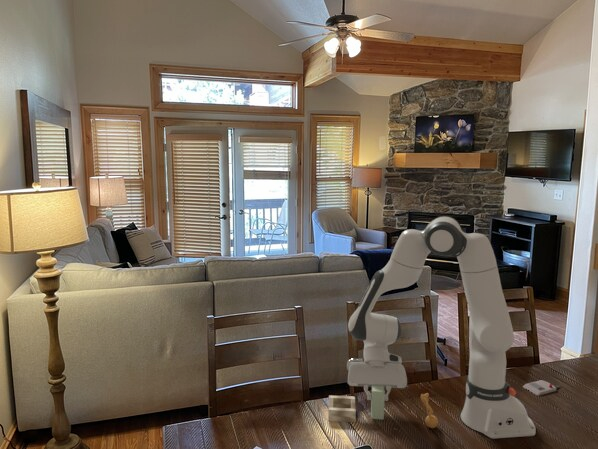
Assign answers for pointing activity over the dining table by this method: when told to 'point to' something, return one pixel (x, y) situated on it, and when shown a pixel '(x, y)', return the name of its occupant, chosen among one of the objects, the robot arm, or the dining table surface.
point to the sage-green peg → (377, 402)
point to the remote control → (540, 387)
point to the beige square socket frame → (342, 409)
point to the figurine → (430, 419)
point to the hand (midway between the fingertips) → (377, 399)
